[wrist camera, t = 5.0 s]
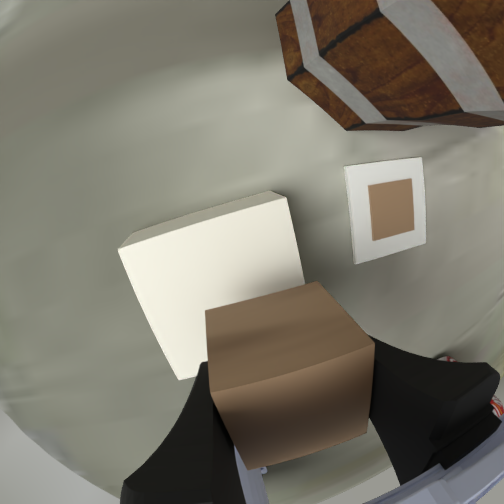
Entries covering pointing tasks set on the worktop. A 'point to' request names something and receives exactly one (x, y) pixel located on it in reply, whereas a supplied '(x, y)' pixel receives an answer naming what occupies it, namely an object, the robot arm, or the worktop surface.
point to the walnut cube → (288, 374)
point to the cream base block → (209, 269)
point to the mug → (397, 60)
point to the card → (386, 207)
